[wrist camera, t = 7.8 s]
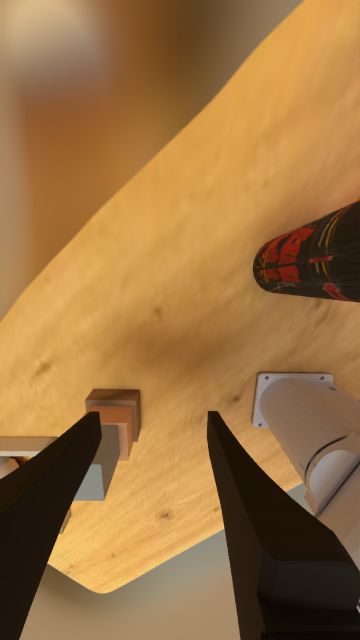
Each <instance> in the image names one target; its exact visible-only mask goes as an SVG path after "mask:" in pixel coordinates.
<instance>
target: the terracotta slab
mask: <svg viewBox="0 0 360 640" xmlns="http://www.w3.org/2000/svg"><path fill="white" fill-rule="evenodd" d="M90 411H99V414H100V422H101V425H118V437H119V453H120V456H119V459H118V460H129V456H130V453H131V449H132V445H133V442H134V427H133V406H97V405H91V406H90V407H89V409H88V410H87V412H86V413H85V415H86V414H87V413H89V412H90ZM85 415H84V416H85ZM84 416H83V417H84ZM83 417H82V418H83Z"/></svg>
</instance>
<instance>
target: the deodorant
mask: <svg viewBox="0 0 360 640" xmlns="http://www.w3.org/2000/svg"><path fill="white" fill-rule="evenodd" d="M253 272H254V277H255V279H256V282H257V283H258V284H259V286H260V287H261V288H263V289H264V290H266V291H269V292H272V293H280V294H289V295H298V296H307V297H315V298H324V299H333V300H342V301H351V302H359V303H360V200H359V201H357V202H355V203H352V204H350V205H348V206H346V207H344V208H341V209H339V210H337V211H335V212H332V213H330V214H328V215H326V216H324V217H321V218H319V219H317V220H315V221H313V222H310V223H308V224H306V225H304V226H302V227H299V228H297V229H295V230H293V231H290V232H288V233H286V234H284V235H282V236H279V237H277V238H275V239H273V240H271V241H269V242H267V243H266V244H265V245H264V246H263V247H262V248H261V249H260V250H259V252H258V253H257V255H256V257H255V260H254V265H253Z"/></svg>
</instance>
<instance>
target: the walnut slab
mask: <svg viewBox="0 0 360 640" xmlns="http://www.w3.org/2000/svg"><path fill="white" fill-rule="evenodd" d="M85 403H86V412H87V410H88V409H89V407H90V406H91V405H97V406H133V427H134V442H137V441H138V437H139V433H140V429H141V420H140V390H105V389H93V391H92V392H91V393H90V394H89V396H88V397H87V398H86V400H85Z"/></svg>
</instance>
